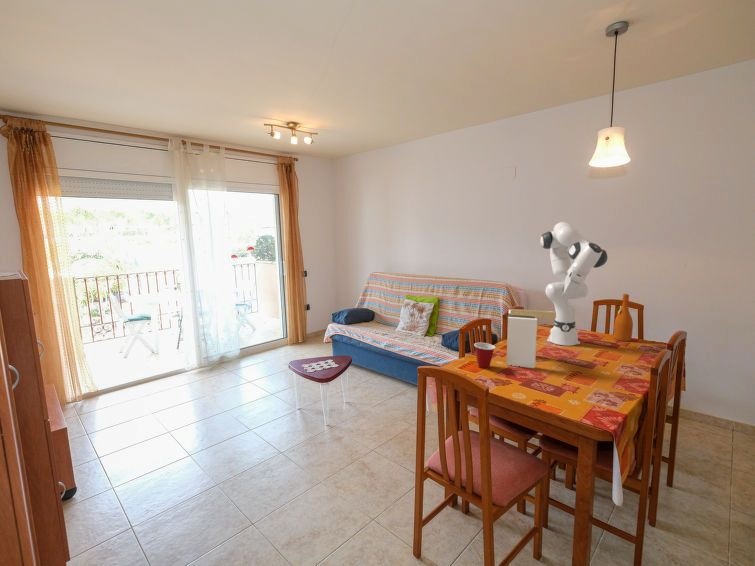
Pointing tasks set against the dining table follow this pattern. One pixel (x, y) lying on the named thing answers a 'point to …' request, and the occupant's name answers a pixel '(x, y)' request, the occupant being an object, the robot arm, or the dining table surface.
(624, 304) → the wine bottle
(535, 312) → the light wood bar
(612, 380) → the dining table surface
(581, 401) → the dining table surface
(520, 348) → the white upright block
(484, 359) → the plastic cup
